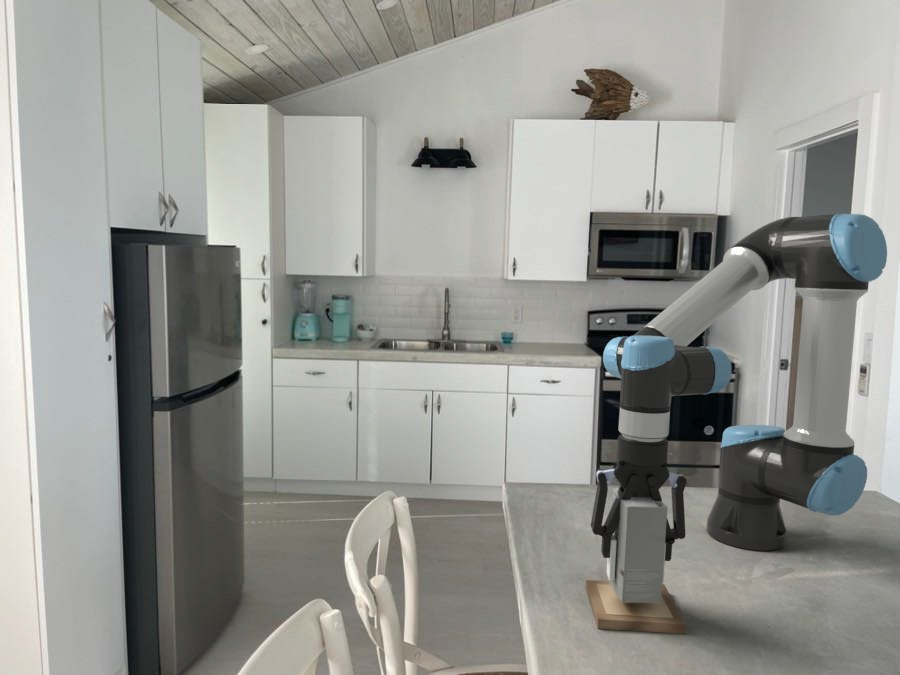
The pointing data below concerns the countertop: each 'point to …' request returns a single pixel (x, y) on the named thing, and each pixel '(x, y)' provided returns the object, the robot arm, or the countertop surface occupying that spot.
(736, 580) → the countertop surface
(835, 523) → the countertop surface
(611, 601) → the tan flat square board
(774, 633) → the countertop surface
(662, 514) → the skincare box
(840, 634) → the countertop surface
